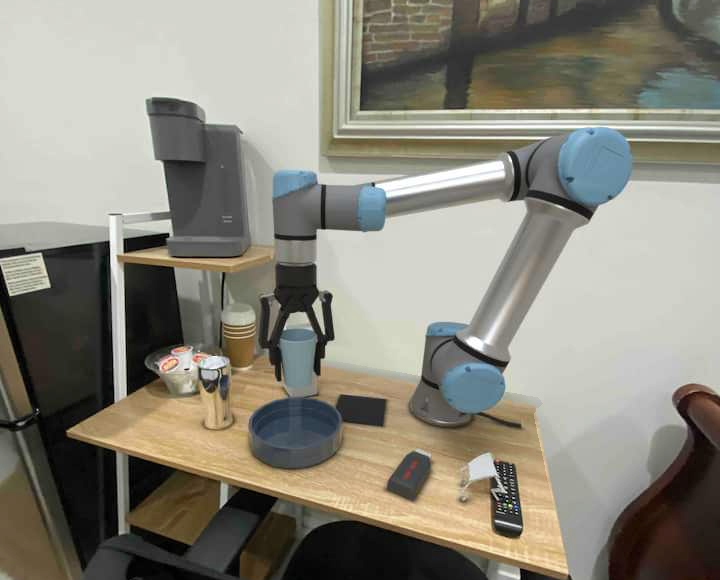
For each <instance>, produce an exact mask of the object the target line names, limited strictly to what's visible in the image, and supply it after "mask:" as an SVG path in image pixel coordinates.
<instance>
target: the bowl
mask: <svg viewBox="0 0 720 580" xmlns="http://www.w3.org/2000/svg"><path fill="white" fill-rule="evenodd" d="M343 423H344V422H343V421H342V417H341V414H340V412H339V411H338V410H337V409H336V406H334V405H332V404H330V403H329V402H327V401H324V400H322V399H318V398H314V397H307V396H306V397H290V396H289V397H285V398H279V399H275V400H272V401H269V402H267V403H264V404H263V405H261V406H260V407H258V408H257V409H255V410H254V411H253V413H252V414H251V416H250V417H249V419H248V425H247V430H248V431H247V432H248V445H249V448H250V450H251V453H252V454H253V455H254V457H256V458H258V459H259V460H260V461H262V462H263V463H265V464H268V465H270V466H273V467H277V468H282V469H303V468H308V467H312V466H316V465H318V464H320V463H322V462H324V461H326V460H328V459H329V458H330V457H332V456H333V455H334V454H335V453H336V452H337V451H338V449H340V447H341V443H342V439H343Z"/></svg>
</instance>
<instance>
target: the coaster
mask: <svg viewBox="0 0 720 580" xmlns="http://www.w3.org/2000/svg"><path fill="white" fill-rule="evenodd" d="M386 402H387V399H386V398H380V397H379V398H377V397H371V396H370V397H369V396H360V395H353V394H344V393H340V395H339V397H338V400H337V403H336V406H335V408H336V409H337V410H338V411H339V412H340V414H341V417H342V421H343V423H351V424H361V425H369V426H377V427H384V425H383V424H384V418H385V408H386Z"/></svg>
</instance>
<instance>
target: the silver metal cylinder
mask: <svg viewBox="0 0 720 580" xmlns="http://www.w3.org/2000/svg"><path fill="white" fill-rule="evenodd" d="M196 365H197V383H198V389H199V394H200V396H201V400H202V402H203V407H204V413H205V414H204V415H205V416H204V426H205V428H208V429H209V430H221V429H224V428H227V427H229V426H230V425H231V424H232V423H233V421H234V418H233V414H232V410H231V397H232V390H233V374H232V367H231V362H230V359H229V358H228V357H226V356H222V355H212V356H211V355H210V356H206V357H204V358H201V359H199V360H198V361H197V364H196Z"/></svg>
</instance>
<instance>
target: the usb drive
mask: <svg viewBox="0 0 720 580" xmlns="http://www.w3.org/2000/svg"><path fill="white" fill-rule="evenodd" d="M432 456H433V453H430V452H428V451H425V450H422V449H420V448H416V449H415V450H413V451H411V452H408V453H407V454H406V455H405V456H404V457H403V459H402V460H401V461H400V463H399V464H398V465H397V467H396V469H395V470H394V471H393V473H392V474H391V475H390V477H389V478H388V480H387V485H386V490H387V491H389V492H391V493H393V494H396V495H397V496H400V497H403V498H405V499H408V500H410V501H412V502H413V501H414V500H415V499H416V497H417V495H418V494H419V492H420V490H421V488H422V487H423V485H424V484H425V482H426V480H427V479H428V477H429V475H430V473H431V466H432V465H431V464H432V463H431V462H432Z"/></svg>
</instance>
